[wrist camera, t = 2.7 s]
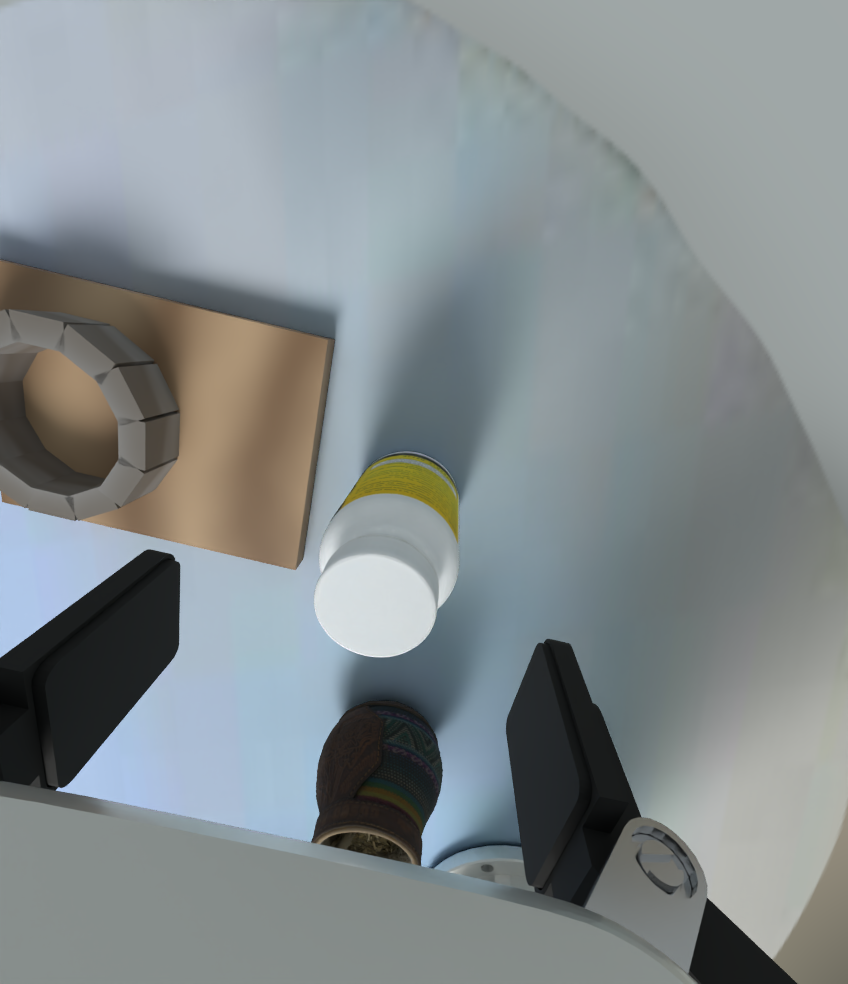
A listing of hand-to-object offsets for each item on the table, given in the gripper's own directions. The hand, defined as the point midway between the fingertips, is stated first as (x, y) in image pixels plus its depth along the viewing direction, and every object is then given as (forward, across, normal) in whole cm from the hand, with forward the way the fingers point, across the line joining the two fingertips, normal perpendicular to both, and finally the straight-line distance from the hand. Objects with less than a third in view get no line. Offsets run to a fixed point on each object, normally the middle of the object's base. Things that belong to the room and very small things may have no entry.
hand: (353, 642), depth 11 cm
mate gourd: (+12, -2, +17) cm, 21 cm away
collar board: (+12, +13, 0) cm, 18 cm away
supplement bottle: (+12, 0, +1) cm, 13 cm away
